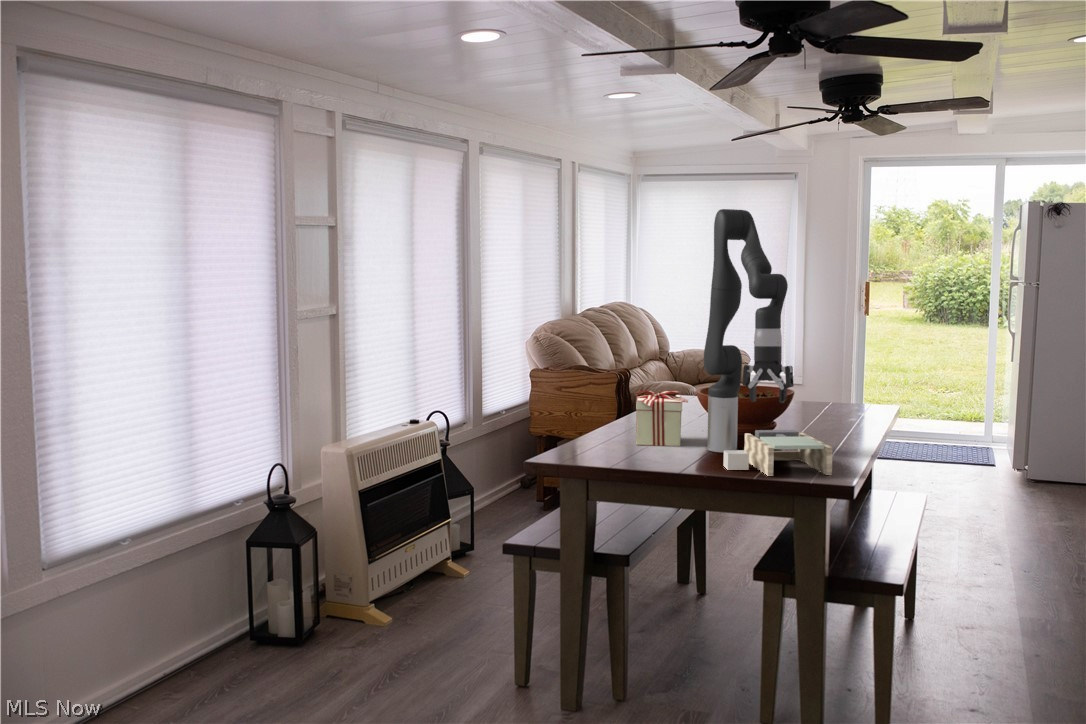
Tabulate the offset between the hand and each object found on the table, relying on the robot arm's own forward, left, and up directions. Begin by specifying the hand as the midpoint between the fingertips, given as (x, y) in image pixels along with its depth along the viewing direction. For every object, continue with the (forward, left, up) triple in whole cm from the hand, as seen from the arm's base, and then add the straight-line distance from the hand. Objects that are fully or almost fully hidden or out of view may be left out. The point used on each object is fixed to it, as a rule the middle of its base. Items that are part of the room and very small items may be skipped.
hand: (767, 402), depth 267 cm
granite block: (-3, -8, -20) cm, 21 cm away
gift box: (-45, -22, -20) cm, 54 cm away
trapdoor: (-4, +7, -15) cm, 17 cm away
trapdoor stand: (-4, +7, -20) cm, 21 cm away
